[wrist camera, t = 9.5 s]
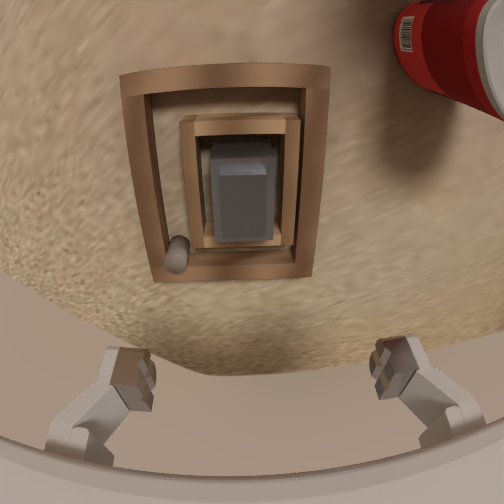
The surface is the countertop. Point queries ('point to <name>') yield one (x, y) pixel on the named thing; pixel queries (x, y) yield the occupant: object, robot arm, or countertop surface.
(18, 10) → the countertop surface
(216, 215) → the grey block
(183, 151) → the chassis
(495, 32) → the canned food
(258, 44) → the countertop surface
